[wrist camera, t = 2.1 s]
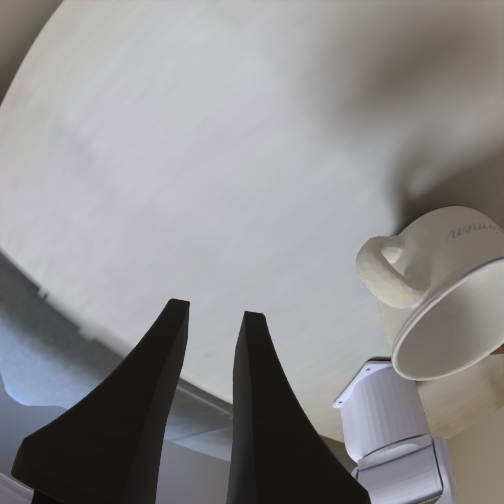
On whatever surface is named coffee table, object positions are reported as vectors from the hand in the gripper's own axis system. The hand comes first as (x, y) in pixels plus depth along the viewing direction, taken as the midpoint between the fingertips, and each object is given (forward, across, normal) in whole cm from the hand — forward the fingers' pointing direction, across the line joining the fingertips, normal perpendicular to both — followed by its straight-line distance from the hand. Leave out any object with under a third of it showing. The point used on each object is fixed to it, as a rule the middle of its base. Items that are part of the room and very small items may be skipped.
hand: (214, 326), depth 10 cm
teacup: (+10, -13, 0) cm, 16 cm away
